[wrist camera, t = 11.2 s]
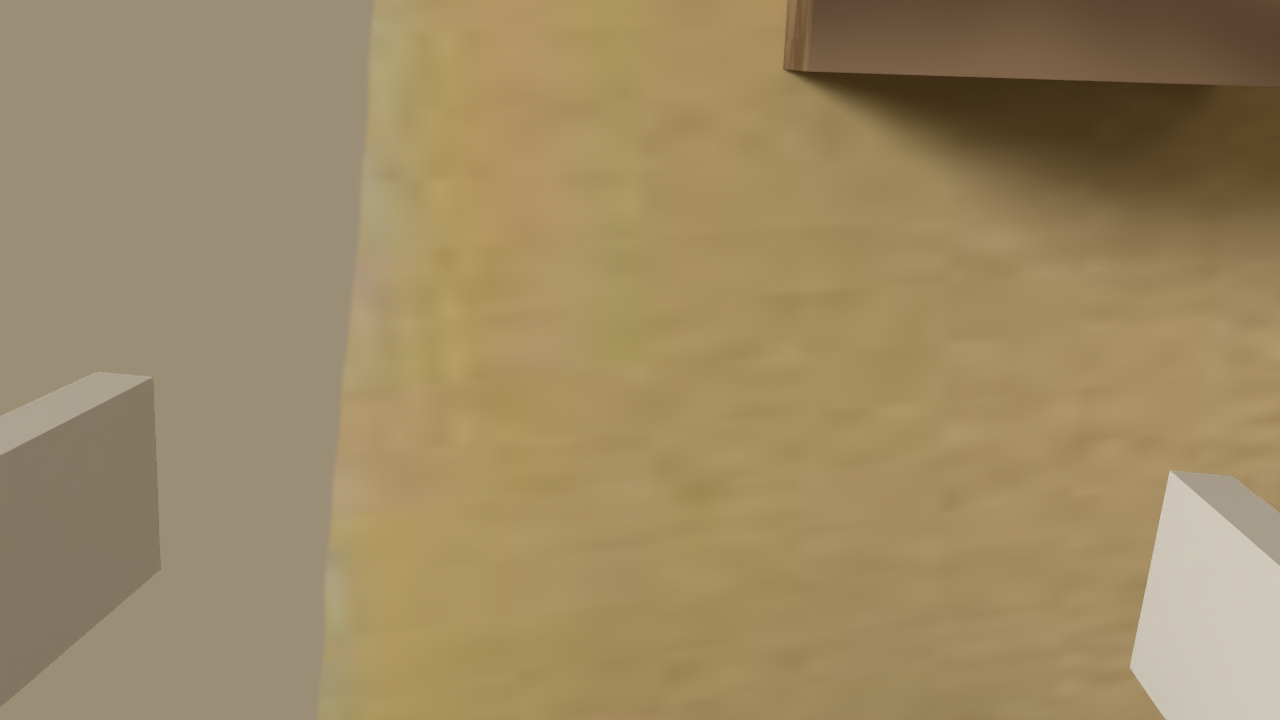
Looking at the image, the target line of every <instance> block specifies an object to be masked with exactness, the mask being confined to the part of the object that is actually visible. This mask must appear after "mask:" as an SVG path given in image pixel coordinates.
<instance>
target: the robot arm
mask: <svg viewBox="0 0 1280 720" xmlns="http://www.w3.org/2000/svg"><path fill="white" fill-rule="evenodd" d="M153 388H154V387H153V377H148V376H137V375H126V374H115V373H105V372H95V373H93V374H91V375H89V376H87V377H84V378H82V379H80V380H78V381H76V382H74V383H71V384H69V385H67V386H65V387H63V388H60V389H58V390H56V391H54V392H52V393H50V394H47V395H45V396H43V397H41V398H39V399H37V400H34V401H32V402H30V403H28V404H26V405H24V406H21V407H19V408H17V409H15V410H13V411H11V412H8V413H6V414H4V415H2V416H0V707H1V706H2V705H3V704H4V703H6V702H7V701H8V700H9V699H10V698H12V697H13V696H14V695H15V694H16V693H17V692H19V691H20V690H21V689H22V688H23V687H24V686H25V685H27V684H28V683H29V682H30V681H31V680H32V679H34V678H35V677H36V676H37V675H38V674H39V673H41V672H42V671H43V670H44V669H45V668H46V667H48V666H49V665H50V664H51V663H52V662H53V661H55V660H56V659H57V658H58V657H59V656H60V655H62V654H63V653H64V652H65V651H66V650H67V649H68V648H70V647H71V646H72V645H73V644H74V643H75V642H77V641H78V640H79V639H80V638H81V637H82V636H84V635H85V634H86V633H87V632H88V631H89V630H91V629H92V628H93V627H94V626H95V625H96V624H98V622H100V621H101V620H102V619H103V618H105V617H106V616H107V615H108V614H109V613H110V612H111V611H113V610H114V609H115V608H116V607H117V606H118V605H120V604H121V603H122V602H123V601H124V600H125V599H127V598H128V597H129V596H130V595H131V594H132V593H134V592H135V591H136V590H137V589H138V588H139V587H141V586H142V585H143V584H144V583H145V582H146V581H147V580H149V579H150V578H151V577H152V576H153V575H154V574H156V573H157V572H158V571H159V570H160V569H161V565H160V541H159V514H158V491H157V490H158V488H157V466H156V465H157V463H156V438H155V412H154V389H153ZM1130 669H1131V670H1132V672H1133V673H1134V675H1135V676H1136V678H1137V679H1138V680H1139V682H1140V683H1141V685H1142V686H1143V688H1144V689H1145V691H1146V692H1147V693H1148V695H1149V696H1150V698H1151V699H1152V701H1153V702H1154V704H1155V705H1156V706H1157V708H1158V709H1159V711H1160V712H1161V714H1162V715H1163V717H1164V718H1165V719H1166V720H1280V513H1279V512H1278V511H1277V510H1276V509H1274V508H1273V507H1272V506H1270V505H1269V504H1268V503H1267V502H1265V501H1264V500H1263V499H1261V498H1260V497H1259V496H1258V495H1256V494H1255V493H1254V492H1252V491H1251V490H1250V489H1248V488H1247V487H1246V486H1245V485H1243V484H1242V483H1241V482H1239V481H1238V480H1237V479H1236V478H1234V477H1233V476H1225V475H1214V474H1204V473H1193V472H1182V471H1171V470H1170V472H1169V477H1168V482H1167V487H1166V492H1165V497H1164V502H1163V507H1162V512H1161V517H1160V521H1159V526H1158V531H1157V536H1156V541H1155V546H1154V551H1153V556H1152V561H1151V566H1150V570H1149V575H1148V580H1147V585H1146V590H1145V595H1144V600H1143V605H1142V610H1141V615H1140V620H1139V624H1138V629H1137V634H1136V639H1135V644H1134V649H1133V654H1132V659H1131V664H1130Z"/></svg>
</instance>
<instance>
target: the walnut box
mask: <svg viewBox="0 0 1280 720" xmlns="http://www.w3.org/2000/svg"><path fill="white" fill-rule="evenodd" d="M783 69H785V70H797V71H810V72H840V73H870V74H900V75H930V76H960V77H990V78H1020V79H1050V80H1080V81H1110V82H1140V83H1170V84H1200V85H1230V86H1260V87H1280V0H788V5H787V20H786V36H785V51H784V67H783Z"/></svg>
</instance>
